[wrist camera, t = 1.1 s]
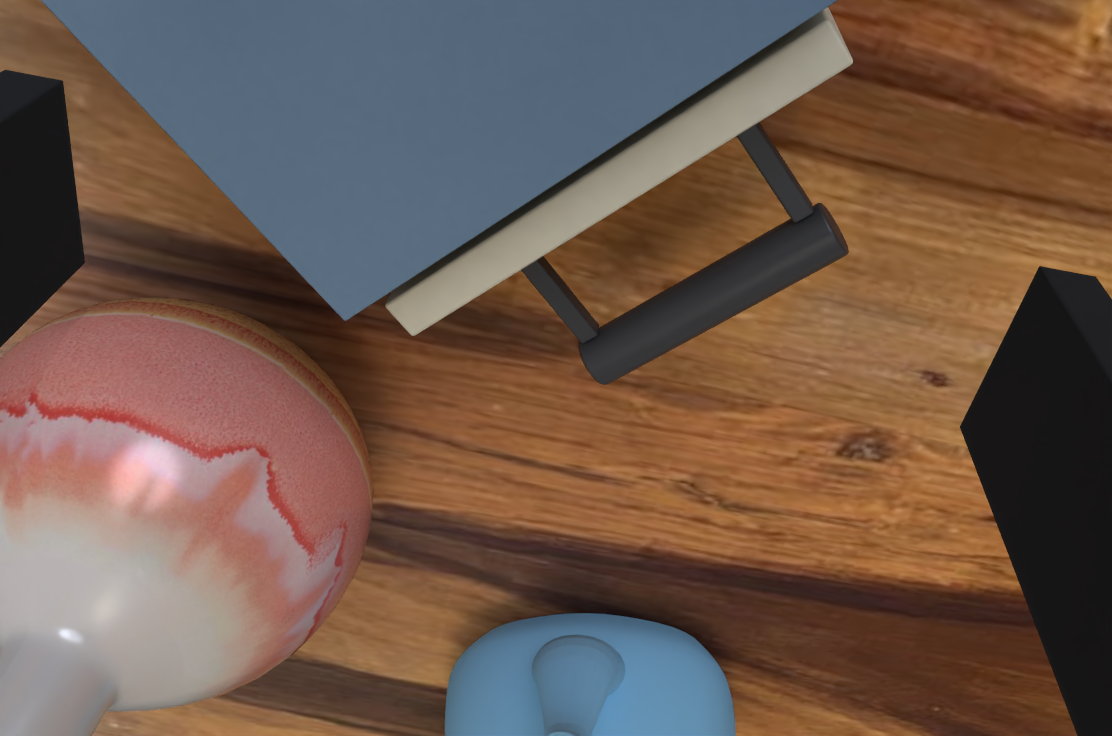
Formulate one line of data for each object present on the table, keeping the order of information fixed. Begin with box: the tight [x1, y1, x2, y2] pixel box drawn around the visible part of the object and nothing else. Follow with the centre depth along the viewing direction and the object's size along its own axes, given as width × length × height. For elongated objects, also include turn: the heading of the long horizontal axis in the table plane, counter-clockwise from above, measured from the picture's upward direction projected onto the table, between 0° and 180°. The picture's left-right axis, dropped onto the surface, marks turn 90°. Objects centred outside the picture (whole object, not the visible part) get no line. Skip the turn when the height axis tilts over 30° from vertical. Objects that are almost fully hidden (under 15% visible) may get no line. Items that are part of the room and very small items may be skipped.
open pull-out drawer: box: [385, 7, 853, 385], centre depth 26 cm, size 21×13×7 cm, turn 37°
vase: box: [0, 297, 374, 736], centre depth 32 cm, size 14×14×18 cm
